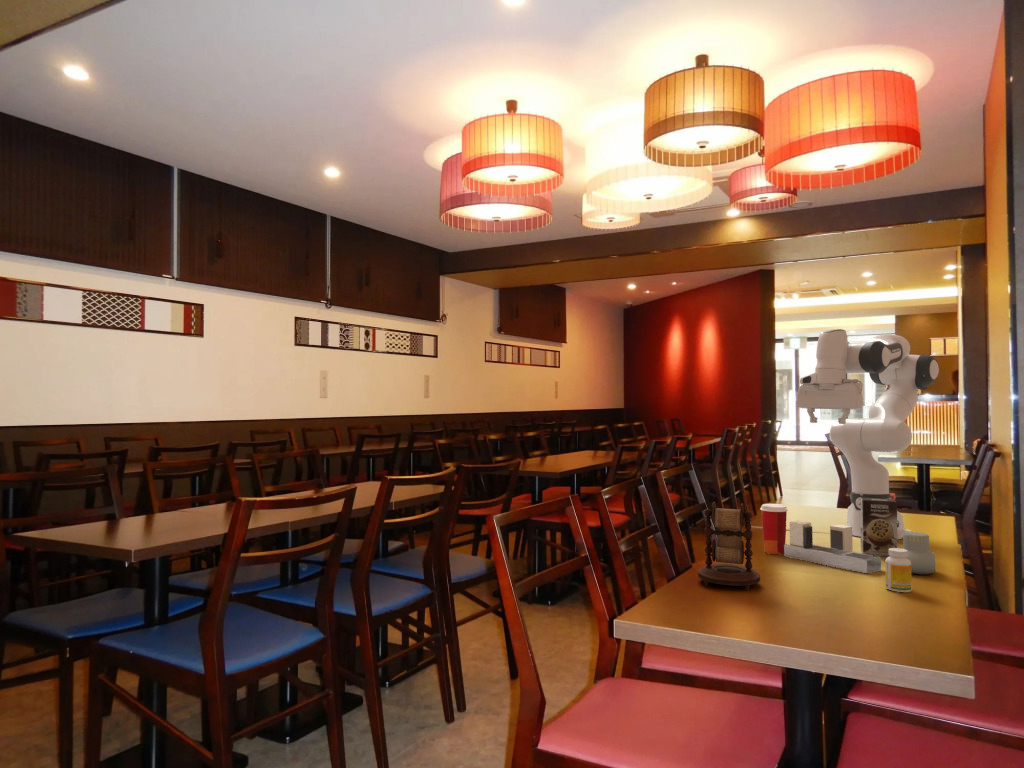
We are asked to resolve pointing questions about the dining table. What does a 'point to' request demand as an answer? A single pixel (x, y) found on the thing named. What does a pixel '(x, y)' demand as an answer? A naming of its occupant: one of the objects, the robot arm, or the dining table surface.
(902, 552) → the supplement bottle
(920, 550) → the air freshener
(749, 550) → the scroll
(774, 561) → the dining table surface
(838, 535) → the cream upright block
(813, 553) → the rail
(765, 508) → the paper cup
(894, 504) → the coffee box
